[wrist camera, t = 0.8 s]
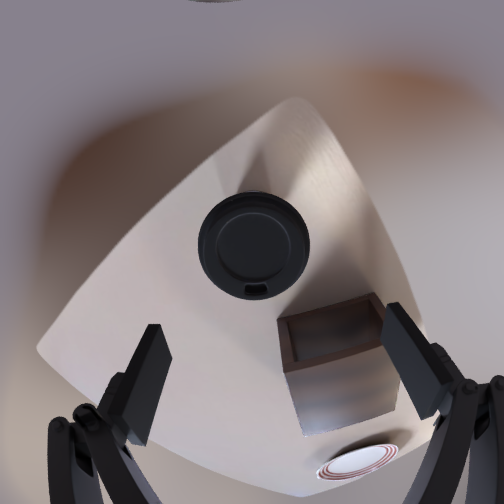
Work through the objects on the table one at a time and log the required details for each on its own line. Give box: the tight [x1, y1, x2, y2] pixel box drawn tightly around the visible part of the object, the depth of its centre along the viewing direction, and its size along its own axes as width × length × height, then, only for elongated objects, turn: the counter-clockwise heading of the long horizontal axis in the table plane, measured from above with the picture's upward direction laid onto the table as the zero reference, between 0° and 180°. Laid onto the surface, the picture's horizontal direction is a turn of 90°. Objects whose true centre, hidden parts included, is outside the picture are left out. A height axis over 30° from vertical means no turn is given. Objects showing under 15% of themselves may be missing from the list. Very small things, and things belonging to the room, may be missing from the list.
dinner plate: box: [317, 444, 398, 481], centre depth 62 cm, size 28×27×3 cm
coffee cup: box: [198, 191, 310, 300], centre depth 28 cm, size 9×9×15 cm
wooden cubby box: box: [277, 293, 400, 437], centre depth 38 cm, size 18×16×12 cm
